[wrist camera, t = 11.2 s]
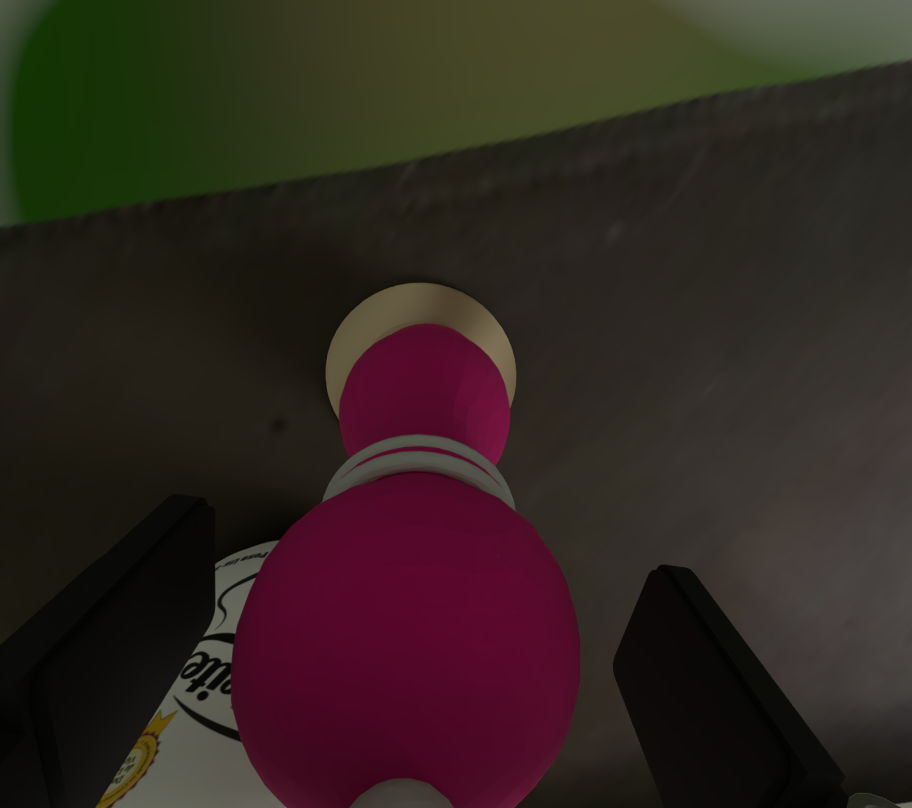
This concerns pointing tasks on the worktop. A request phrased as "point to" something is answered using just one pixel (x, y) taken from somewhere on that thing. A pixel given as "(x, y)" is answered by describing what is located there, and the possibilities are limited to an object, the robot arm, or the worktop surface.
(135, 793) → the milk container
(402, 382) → the pepper mill
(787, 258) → the worktop surface
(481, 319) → the plate
